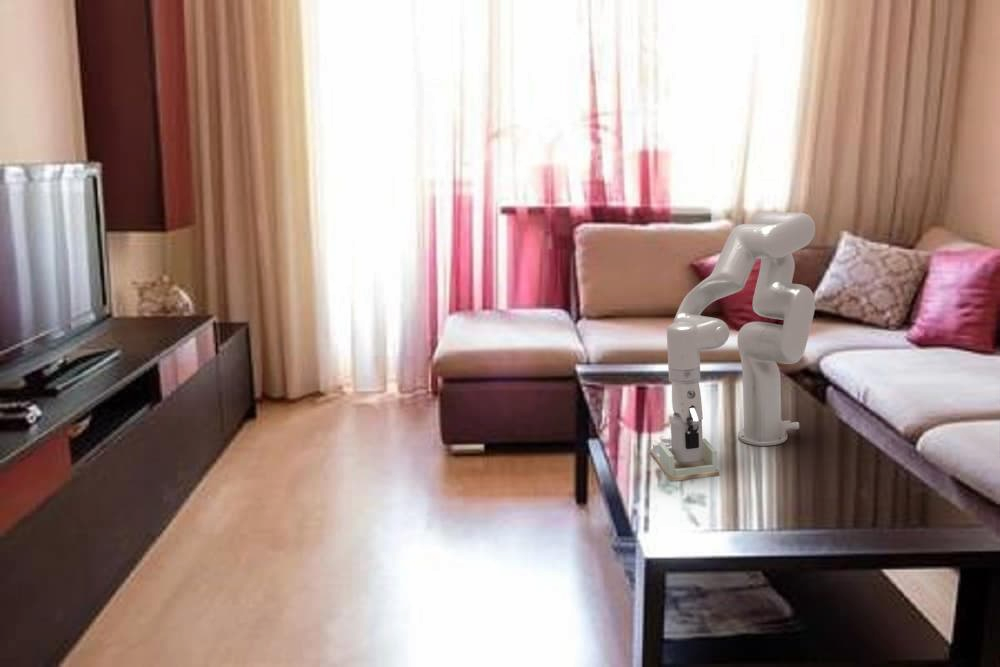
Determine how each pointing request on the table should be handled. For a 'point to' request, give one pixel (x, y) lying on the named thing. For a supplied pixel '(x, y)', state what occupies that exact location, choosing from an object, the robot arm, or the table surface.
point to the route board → (681, 465)
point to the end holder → (668, 465)
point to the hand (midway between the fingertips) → (687, 441)
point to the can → (679, 442)
